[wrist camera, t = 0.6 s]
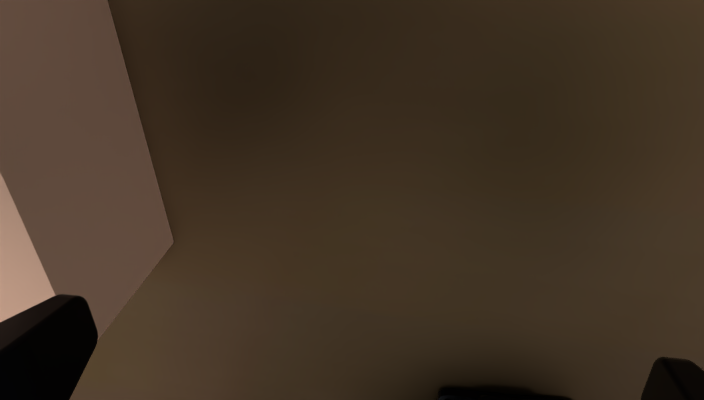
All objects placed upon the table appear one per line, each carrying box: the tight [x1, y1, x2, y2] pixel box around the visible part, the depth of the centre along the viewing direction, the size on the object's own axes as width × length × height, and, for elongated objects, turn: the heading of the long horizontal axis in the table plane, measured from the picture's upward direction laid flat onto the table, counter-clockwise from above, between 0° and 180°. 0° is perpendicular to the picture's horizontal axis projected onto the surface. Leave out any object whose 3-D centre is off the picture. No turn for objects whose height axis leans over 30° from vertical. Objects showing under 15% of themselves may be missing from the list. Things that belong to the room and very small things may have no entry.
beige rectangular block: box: [0, 0, 174, 341], centre depth 18 cm, size 12×3×7 cm, turn 3°
